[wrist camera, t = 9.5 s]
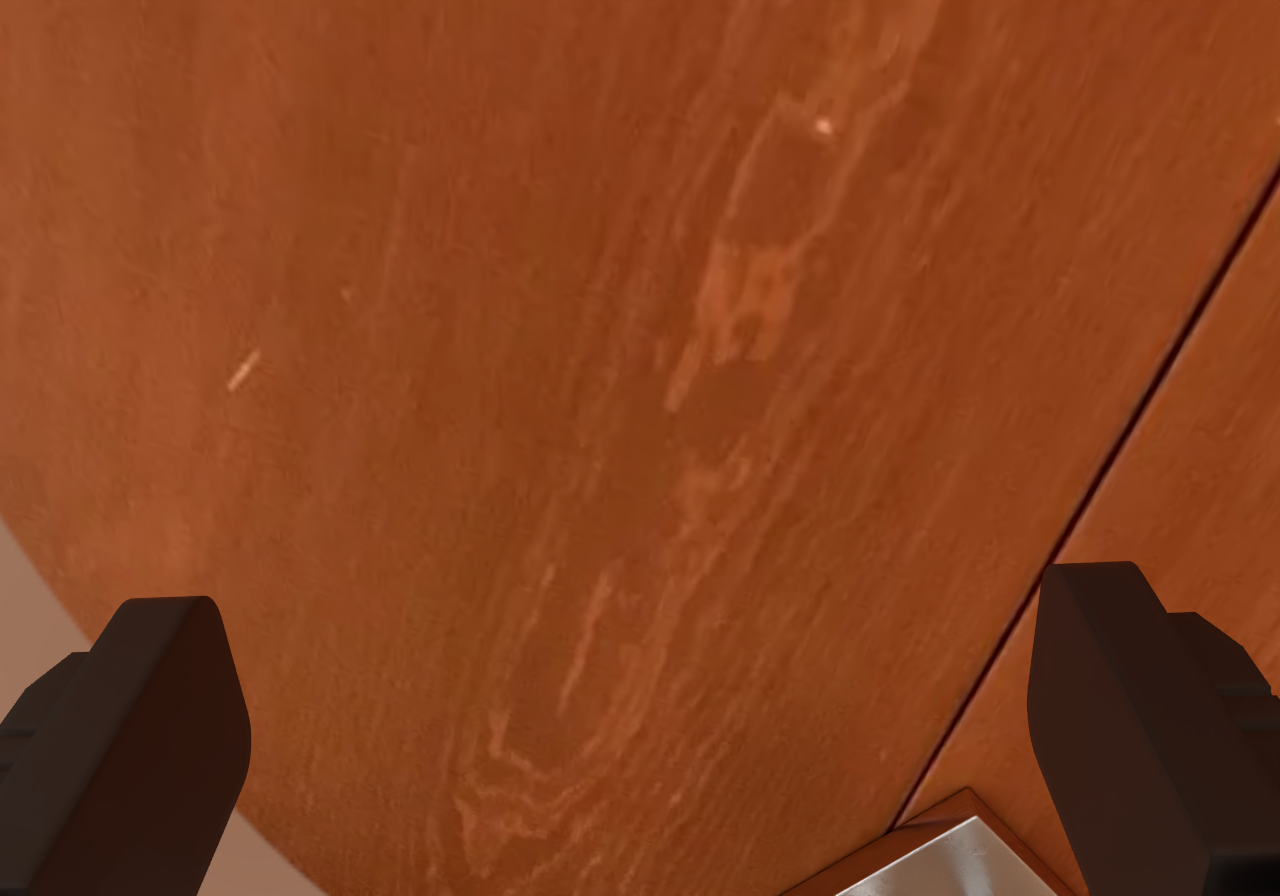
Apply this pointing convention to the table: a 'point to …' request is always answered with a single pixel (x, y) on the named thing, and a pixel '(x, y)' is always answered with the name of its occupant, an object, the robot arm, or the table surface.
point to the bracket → (941, 859)
